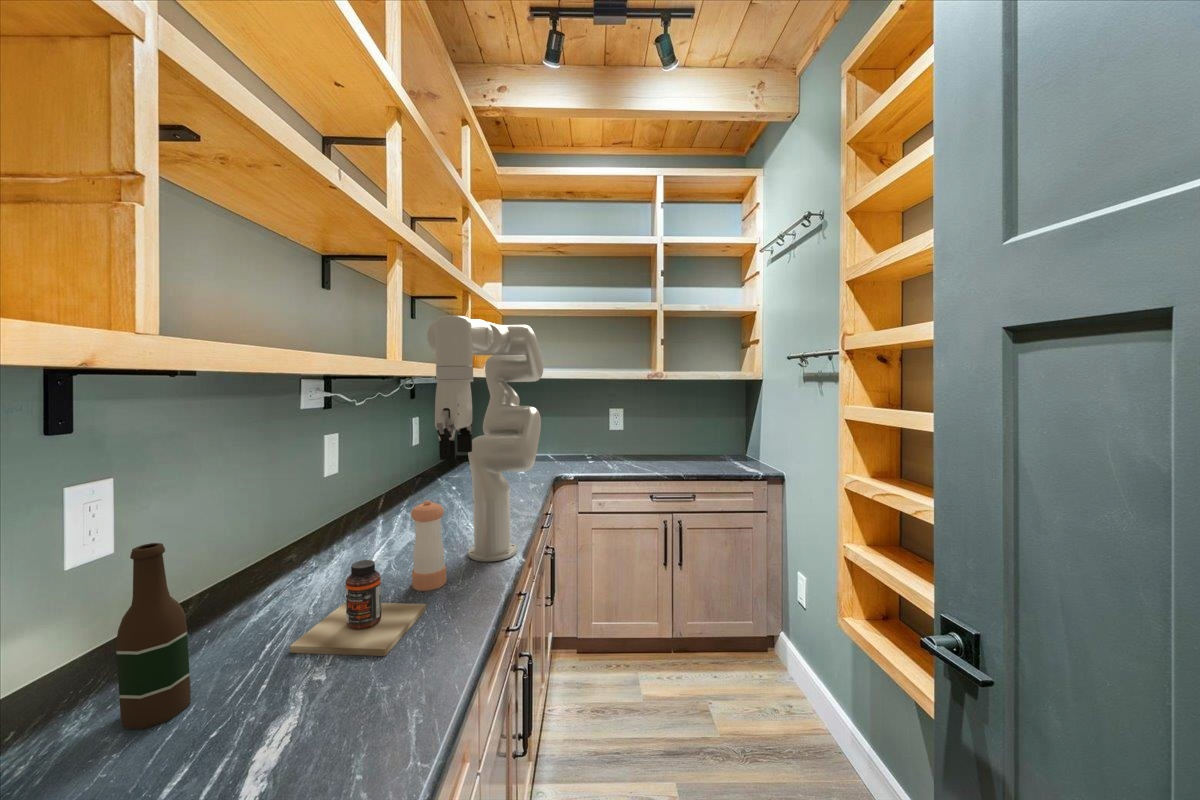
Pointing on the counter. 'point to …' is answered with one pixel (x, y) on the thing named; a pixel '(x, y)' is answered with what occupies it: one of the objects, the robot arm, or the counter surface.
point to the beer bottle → (152, 647)
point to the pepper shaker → (428, 547)
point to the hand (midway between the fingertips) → (456, 455)
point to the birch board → (359, 632)
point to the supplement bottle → (363, 595)
